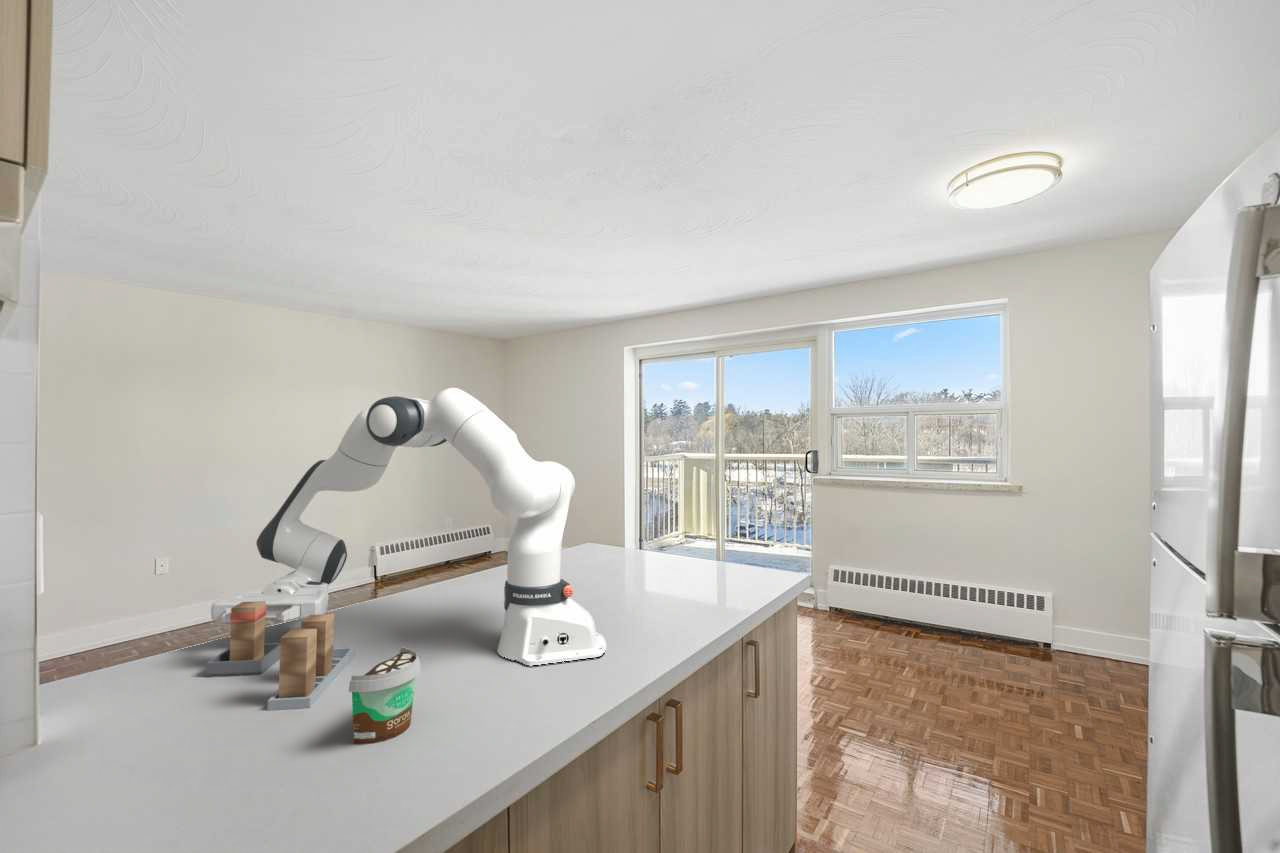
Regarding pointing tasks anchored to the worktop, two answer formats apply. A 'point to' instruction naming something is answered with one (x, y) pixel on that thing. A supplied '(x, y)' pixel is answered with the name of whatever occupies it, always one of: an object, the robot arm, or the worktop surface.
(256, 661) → the tray
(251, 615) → the block
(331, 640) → the plain cartridge
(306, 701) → the holder
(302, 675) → the plain cartridge
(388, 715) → the food container
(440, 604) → the worktop surface
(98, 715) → the worktop surface
